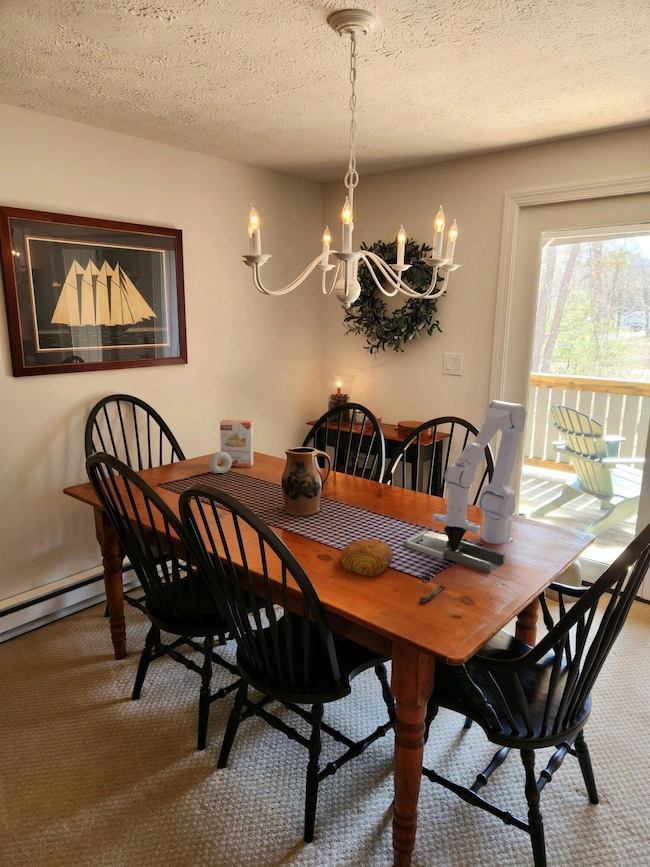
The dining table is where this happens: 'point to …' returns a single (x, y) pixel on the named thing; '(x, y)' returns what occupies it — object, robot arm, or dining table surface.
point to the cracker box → (237, 441)
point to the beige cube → (429, 539)
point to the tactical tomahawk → (432, 594)
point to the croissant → (367, 556)
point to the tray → (412, 544)
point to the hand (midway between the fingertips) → (454, 549)
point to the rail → (476, 556)
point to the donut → (218, 456)
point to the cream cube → (441, 543)
